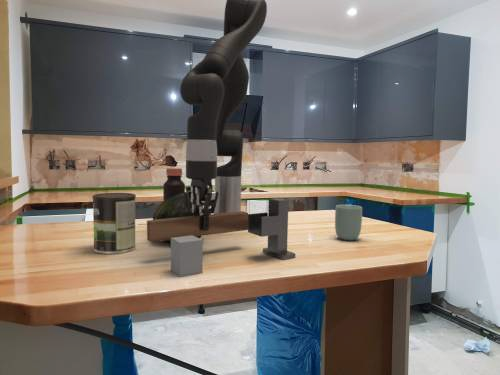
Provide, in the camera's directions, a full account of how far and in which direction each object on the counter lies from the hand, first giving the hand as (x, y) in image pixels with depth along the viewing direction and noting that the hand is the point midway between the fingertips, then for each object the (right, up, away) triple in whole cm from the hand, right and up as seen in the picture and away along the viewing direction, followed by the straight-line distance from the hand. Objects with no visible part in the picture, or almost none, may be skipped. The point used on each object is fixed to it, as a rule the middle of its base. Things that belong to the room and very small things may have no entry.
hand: (200, 228), depth 91 cm
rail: (0, -1, 0) cm, 1 cm away
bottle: (-12, -4, +28) cm, 31 cm away
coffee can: (-23, -6, +4) cm, 24 cm away
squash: (-8, -5, +14) cm, 17 cm away
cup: (+42, -6, +20) cm, 46 cm away
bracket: (+17, -7, -1) cm, 18 cm away
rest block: (-1, -8, -13) cm, 15 cm away
